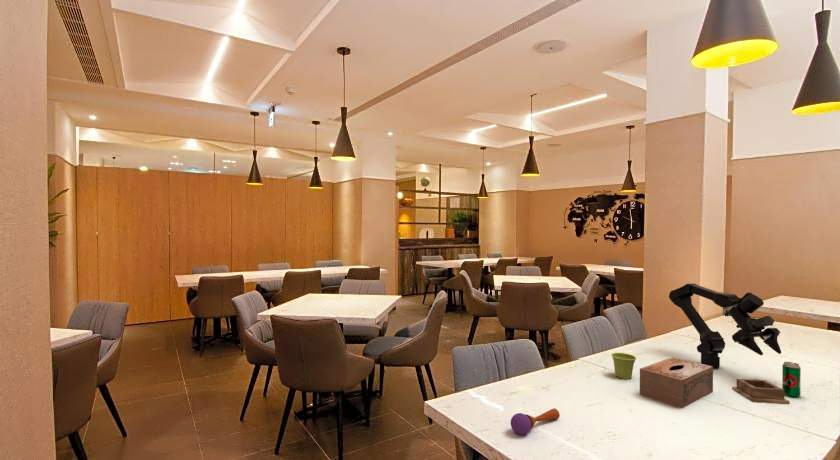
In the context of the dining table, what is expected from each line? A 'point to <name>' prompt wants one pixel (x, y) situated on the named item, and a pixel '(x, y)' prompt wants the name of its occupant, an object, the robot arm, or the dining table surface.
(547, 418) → the kendama
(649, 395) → the tissue box cover
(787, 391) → the soda can
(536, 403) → the dining table surface
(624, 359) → the plant pot
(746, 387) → the socket block
